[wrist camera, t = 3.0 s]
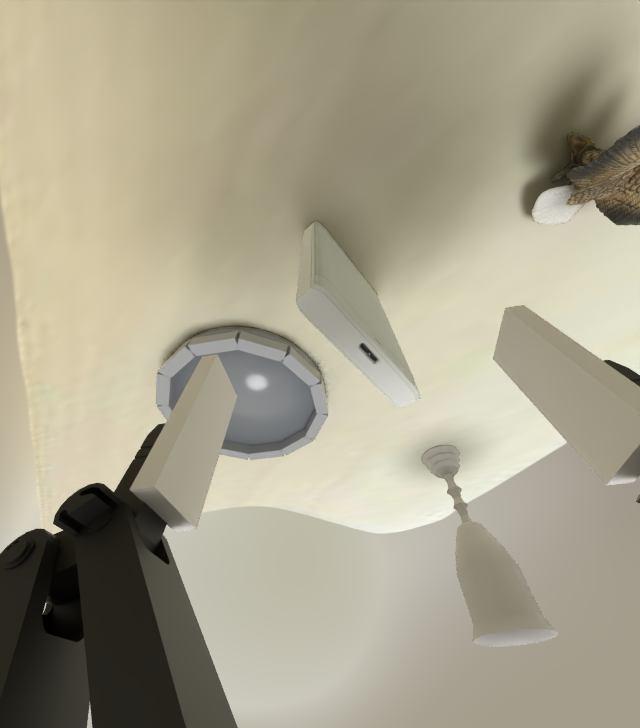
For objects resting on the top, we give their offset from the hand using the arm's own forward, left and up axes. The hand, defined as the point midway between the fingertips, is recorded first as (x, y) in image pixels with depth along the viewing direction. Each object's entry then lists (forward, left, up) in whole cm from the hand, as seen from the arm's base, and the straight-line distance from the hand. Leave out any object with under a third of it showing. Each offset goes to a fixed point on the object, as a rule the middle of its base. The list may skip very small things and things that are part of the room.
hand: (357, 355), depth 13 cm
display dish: (+12, -12, -12) cm, 20 cm away
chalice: (+28, +10, -12) cm, 32 cm away
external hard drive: (0, 0, -12) cm, 12 cm away
